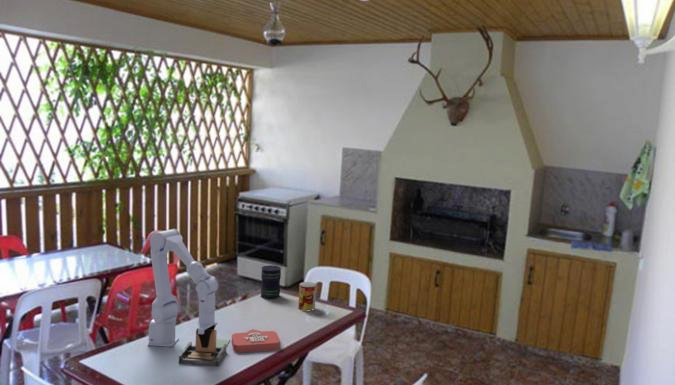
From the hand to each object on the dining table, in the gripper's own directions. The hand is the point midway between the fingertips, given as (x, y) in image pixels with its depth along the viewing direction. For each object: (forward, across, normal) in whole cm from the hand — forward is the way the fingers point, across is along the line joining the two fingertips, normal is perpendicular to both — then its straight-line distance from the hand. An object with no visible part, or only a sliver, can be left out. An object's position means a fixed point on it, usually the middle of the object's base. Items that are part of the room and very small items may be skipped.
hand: (205, 345), depth 186 cm
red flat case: (+4, +12, -16) cm, 21 cm away
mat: (+3, +9, 0) cm, 9 cm away
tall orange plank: (+3, 0, 0) cm, 3 cm away
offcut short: (+3, -4, 0) cm, 6 cm away
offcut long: (+3, -7, 0) cm, 8 cm away
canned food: (+3, +56, -33) cm, 65 cm away
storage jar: (+3, +71, -13) cm, 72 cm away
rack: (+3, -3, 0) cm, 5 cm away
